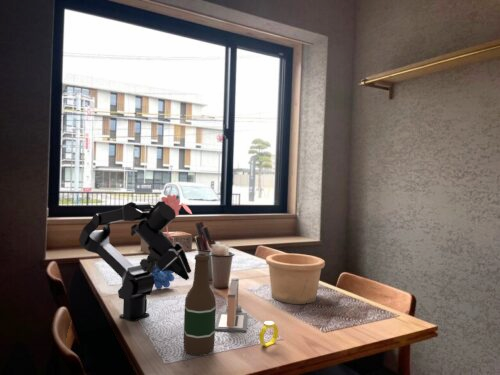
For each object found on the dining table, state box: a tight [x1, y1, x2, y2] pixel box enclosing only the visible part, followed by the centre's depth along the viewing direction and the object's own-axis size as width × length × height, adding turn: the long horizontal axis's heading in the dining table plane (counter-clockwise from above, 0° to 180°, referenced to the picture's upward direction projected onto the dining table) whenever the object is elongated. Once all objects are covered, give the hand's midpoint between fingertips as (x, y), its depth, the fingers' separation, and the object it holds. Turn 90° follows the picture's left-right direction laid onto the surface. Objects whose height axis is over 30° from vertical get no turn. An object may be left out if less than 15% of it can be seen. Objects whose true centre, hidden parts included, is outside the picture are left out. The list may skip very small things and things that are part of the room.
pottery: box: [265, 253, 326, 305], centre depth 142 cm, size 22×22×14 cm
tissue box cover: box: [140, 231, 193, 255], centre depth 223 cm, size 26×14×10 cm, turn 126°
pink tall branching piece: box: [160, 193, 193, 243], centre depth 184 cm, size 15×26×35 cm, turn 132°
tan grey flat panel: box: [226, 277, 239, 326], centre depth 117 cm, size 18×2×9 cm, turn 179°
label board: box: [215, 304, 248, 333], centre depth 117 cm, size 20×9×1 cm, turn 179°
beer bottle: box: [183, 253, 217, 357], centre depth 95 cm, size 8×8×24 cm
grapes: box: [151, 265, 175, 290], centre depth 145 cm, size 12×7×12 cm, turn 118°
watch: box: [259, 320, 279, 348], centre depth 100 cm, size 6×3×6 cm, turn 135°
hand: (189, 275), depth 114 cm, fingers open, 9 cm apart
